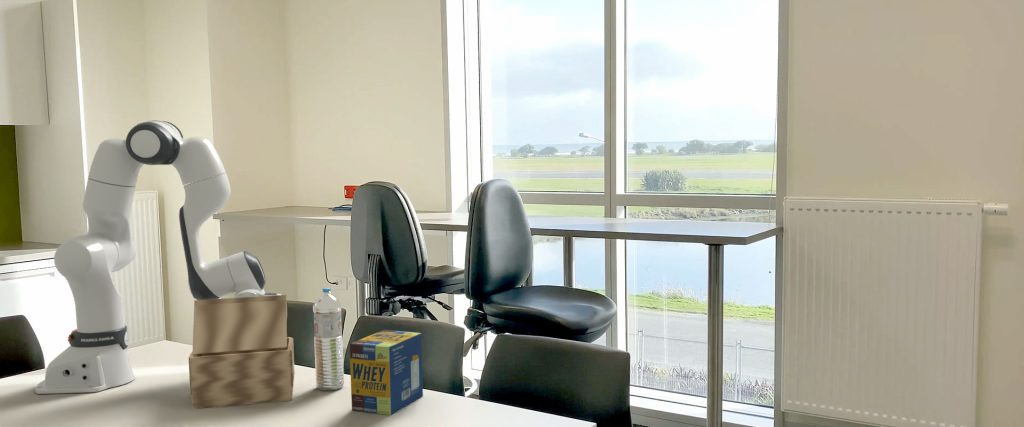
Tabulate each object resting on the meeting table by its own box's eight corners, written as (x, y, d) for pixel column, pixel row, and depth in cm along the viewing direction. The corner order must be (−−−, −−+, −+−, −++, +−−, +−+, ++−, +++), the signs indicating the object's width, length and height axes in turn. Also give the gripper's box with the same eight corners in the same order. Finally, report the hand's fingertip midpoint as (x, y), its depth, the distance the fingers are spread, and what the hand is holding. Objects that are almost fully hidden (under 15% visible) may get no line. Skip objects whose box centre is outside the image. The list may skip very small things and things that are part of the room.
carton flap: (192, 354, 180) (192, 353, 179) (194, 301, 185) (194, 300, 185) (286, 347, 185) (286, 346, 184) (286, 295, 190) (286, 294, 190)
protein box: (350, 411, 177) (348, 343, 176) (386, 391, 191) (384, 329, 190) (391, 416, 173) (388, 346, 172) (424, 396, 187) (422, 331, 186)
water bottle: (337, 392, 191) (333, 290, 189) (311, 391, 193) (307, 290, 191) (348, 384, 198) (345, 286, 196) (323, 383, 199) (319, 285, 197)
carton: (190, 409, 180) (188, 358, 179) (199, 391, 194) (197, 343, 193) (293, 400, 185) (291, 350, 185) (295, 383, 199) (293, 337, 199)
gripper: (204, 298, 199) (196, 307, 186) (287, 293, 204) (285, 302, 191) (205, 322, 200) (197, 334, 186) (288, 317, 205) (286, 327, 191)
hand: (242, 318), depth 189 cm, fingers closed
